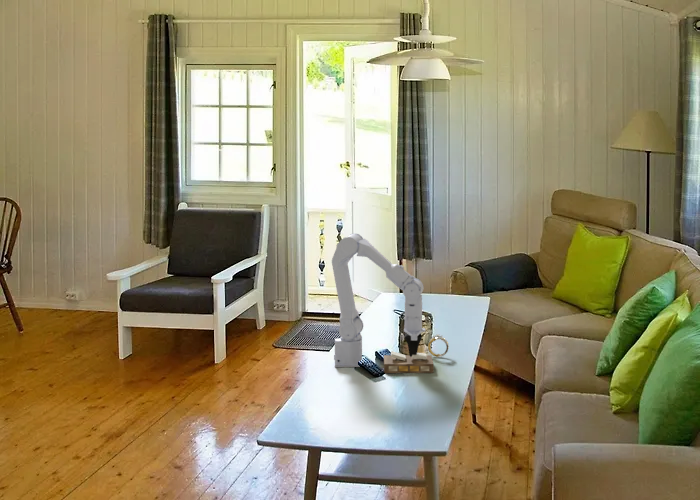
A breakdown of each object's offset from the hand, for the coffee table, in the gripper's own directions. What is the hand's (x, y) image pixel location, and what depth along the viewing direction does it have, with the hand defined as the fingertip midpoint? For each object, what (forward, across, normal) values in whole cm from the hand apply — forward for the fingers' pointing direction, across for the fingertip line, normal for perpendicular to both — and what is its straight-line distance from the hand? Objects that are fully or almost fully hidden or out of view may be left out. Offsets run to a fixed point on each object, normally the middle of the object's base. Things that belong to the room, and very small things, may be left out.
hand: (412, 356), depth 278 cm
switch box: (+4, 0, +2) cm, 4 cm away
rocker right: (0, 0, -2) cm, 2 cm away
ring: (+4, +13, -10) cm, 17 cm away
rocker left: (0, 0, +5) cm, 5 cm away
